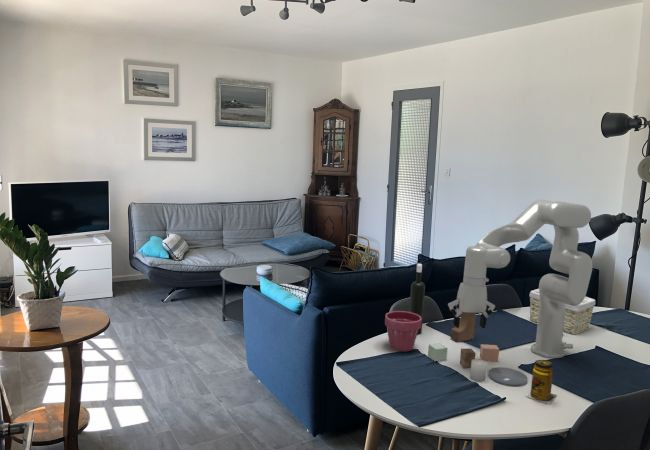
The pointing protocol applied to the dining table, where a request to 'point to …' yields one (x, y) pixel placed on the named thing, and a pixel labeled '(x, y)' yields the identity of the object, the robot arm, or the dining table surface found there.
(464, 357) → the walnut block
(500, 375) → the slate coaster
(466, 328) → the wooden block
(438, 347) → the sage cube
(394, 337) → the plant pot
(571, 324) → the storage basket
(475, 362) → the grey cylinder
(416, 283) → the wine bottle
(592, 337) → the dining table surface
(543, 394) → the condiment
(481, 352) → the terracotta brick
